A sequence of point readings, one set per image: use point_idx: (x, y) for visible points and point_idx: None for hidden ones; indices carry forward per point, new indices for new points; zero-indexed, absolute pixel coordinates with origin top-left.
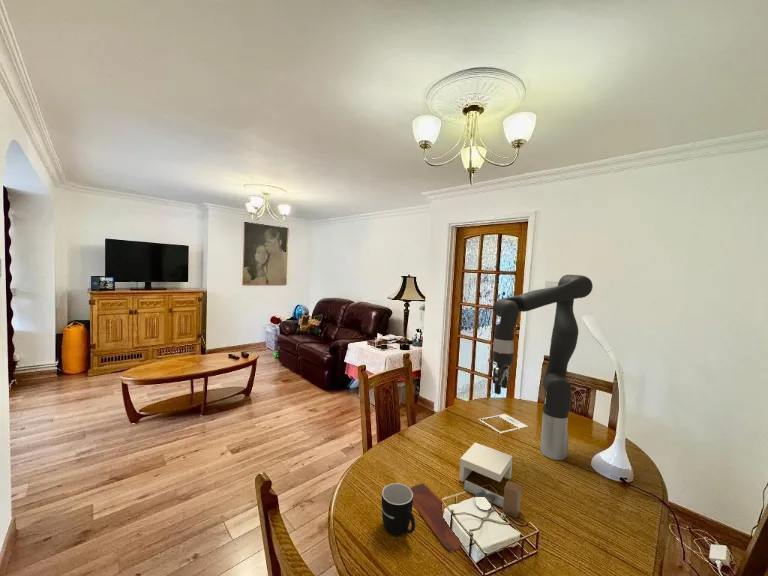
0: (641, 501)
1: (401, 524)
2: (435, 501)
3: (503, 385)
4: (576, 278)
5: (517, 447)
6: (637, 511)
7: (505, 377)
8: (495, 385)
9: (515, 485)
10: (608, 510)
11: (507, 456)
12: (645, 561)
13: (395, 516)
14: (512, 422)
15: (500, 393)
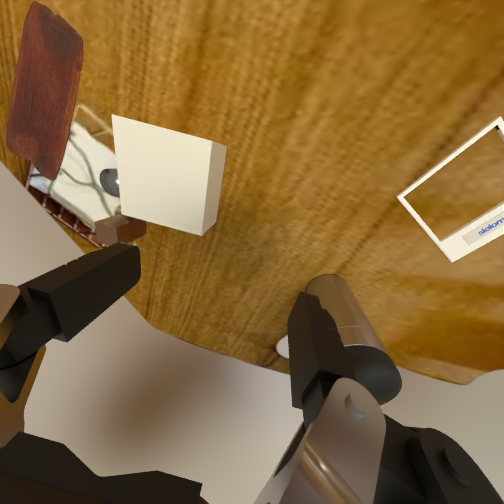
0: (249, 352)
1: None
2: (57, 93)
3: (298, 317)
4: None
5: (331, 235)
6: (228, 344)
7: (308, 426)
8: (23, 286)
9: (112, 239)
10: (213, 322)
11: (194, 226)
12: (158, 326)
13: None
14: (475, 227)
15: (134, 282)
